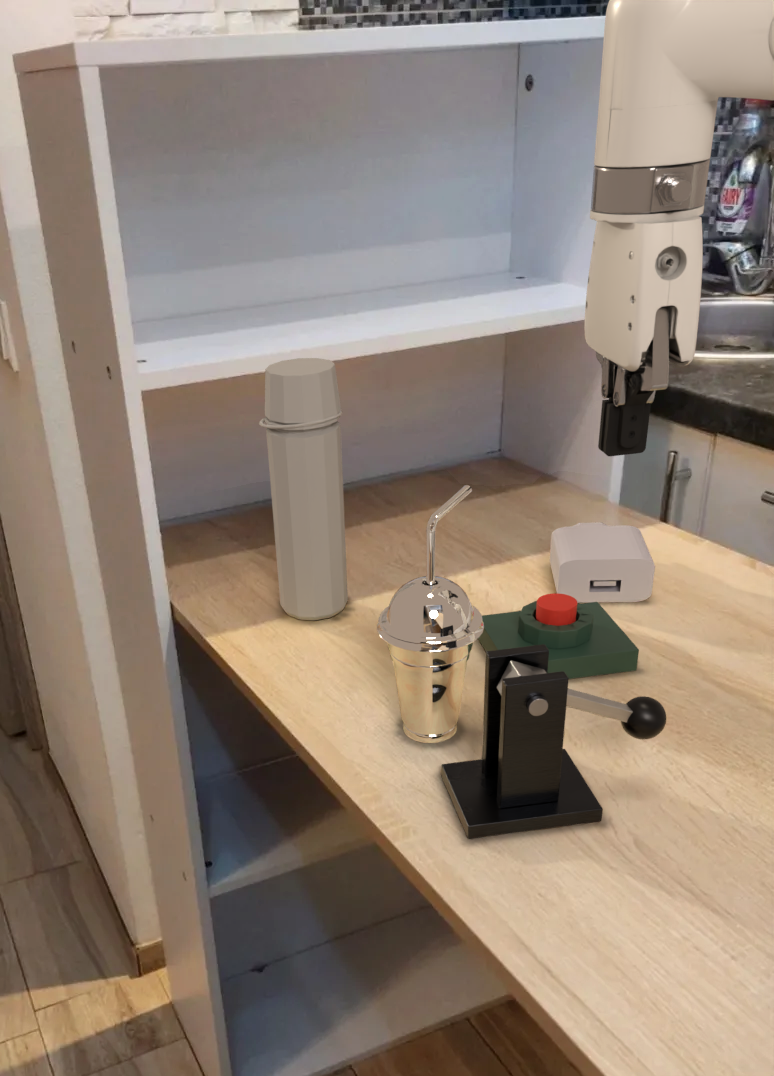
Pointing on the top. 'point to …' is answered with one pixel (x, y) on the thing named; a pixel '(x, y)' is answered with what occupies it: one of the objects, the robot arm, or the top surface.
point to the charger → (601, 563)
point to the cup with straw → (430, 643)
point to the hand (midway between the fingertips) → (621, 451)
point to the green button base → (565, 640)
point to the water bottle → (307, 486)
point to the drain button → (556, 609)
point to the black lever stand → (521, 755)
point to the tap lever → (606, 706)
